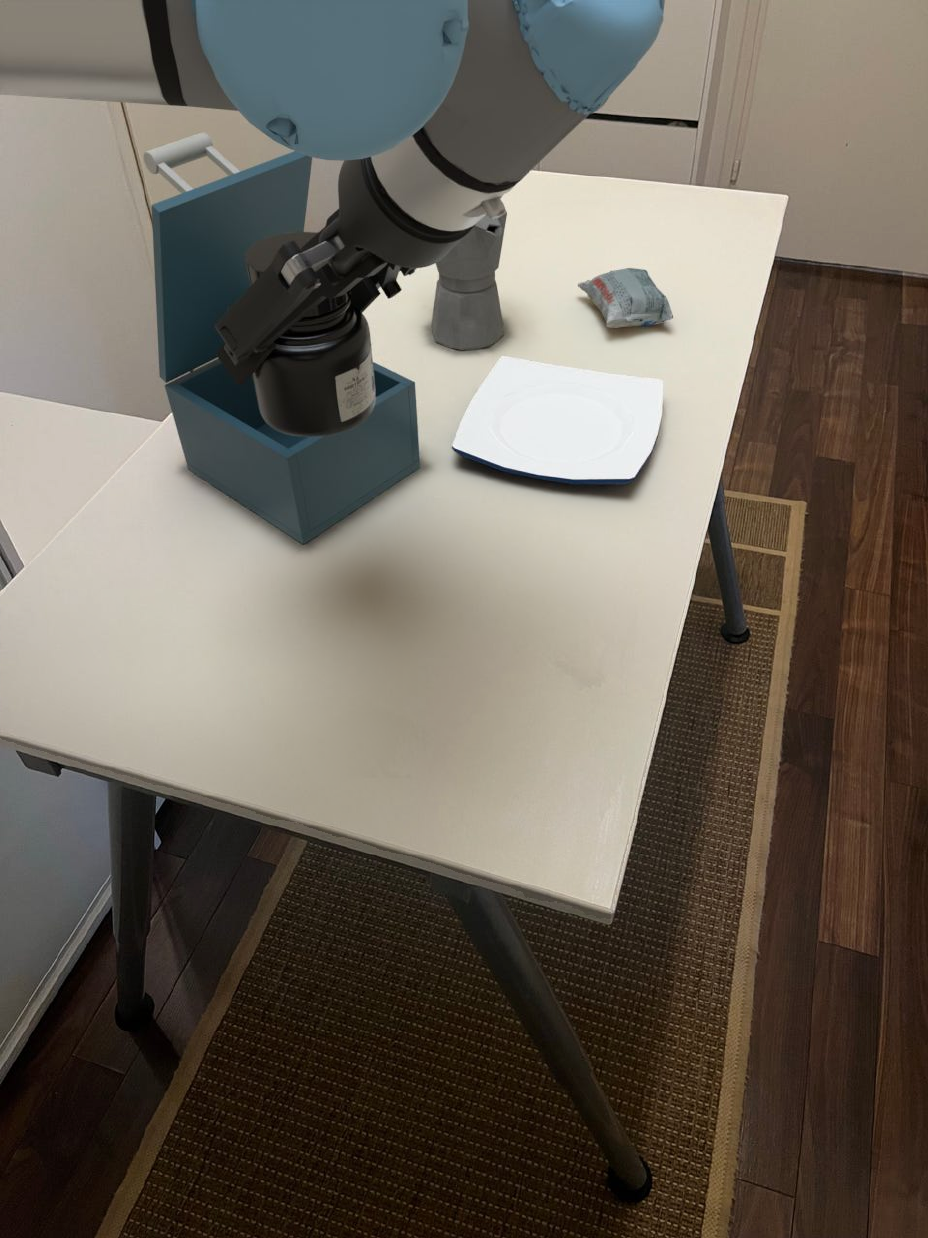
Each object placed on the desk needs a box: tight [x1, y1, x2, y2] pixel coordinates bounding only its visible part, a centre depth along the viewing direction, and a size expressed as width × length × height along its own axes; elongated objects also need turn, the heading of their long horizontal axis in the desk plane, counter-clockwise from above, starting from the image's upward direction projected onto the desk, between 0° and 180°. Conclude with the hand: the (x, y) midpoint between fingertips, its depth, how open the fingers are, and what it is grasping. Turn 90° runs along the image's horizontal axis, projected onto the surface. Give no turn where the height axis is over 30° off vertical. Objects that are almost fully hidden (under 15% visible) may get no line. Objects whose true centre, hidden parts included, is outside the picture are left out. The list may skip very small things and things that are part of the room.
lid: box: [143, 131, 313, 384], centre depth 85 cm, size 19×16×9 cm
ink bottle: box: [245, 231, 376, 437], centre depth 66 cm, size 10×9×12 cm
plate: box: [451, 355, 665, 485], centre depth 98 cm, size 20×20×3 cm
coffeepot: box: [430, 209, 508, 351], centre depth 109 cm, size 15×9×18 cm, turn 32°
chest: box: [164, 358, 421, 545], centre depth 92 cm, size 18×16×10 cm
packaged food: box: [577, 267, 674, 329], centre depth 115 cm, size 9×12×5 cm
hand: (282, 342), depth 69 cm, fingers closed on ink bottle, 9 cm apart
